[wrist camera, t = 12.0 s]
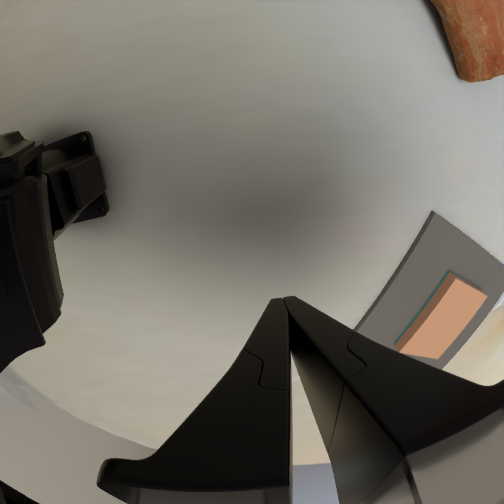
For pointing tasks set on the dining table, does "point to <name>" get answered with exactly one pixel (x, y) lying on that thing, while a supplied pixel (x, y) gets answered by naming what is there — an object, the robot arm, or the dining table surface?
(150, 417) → the dining table surface
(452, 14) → the ceramic shard
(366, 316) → the mat
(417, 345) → the tile
